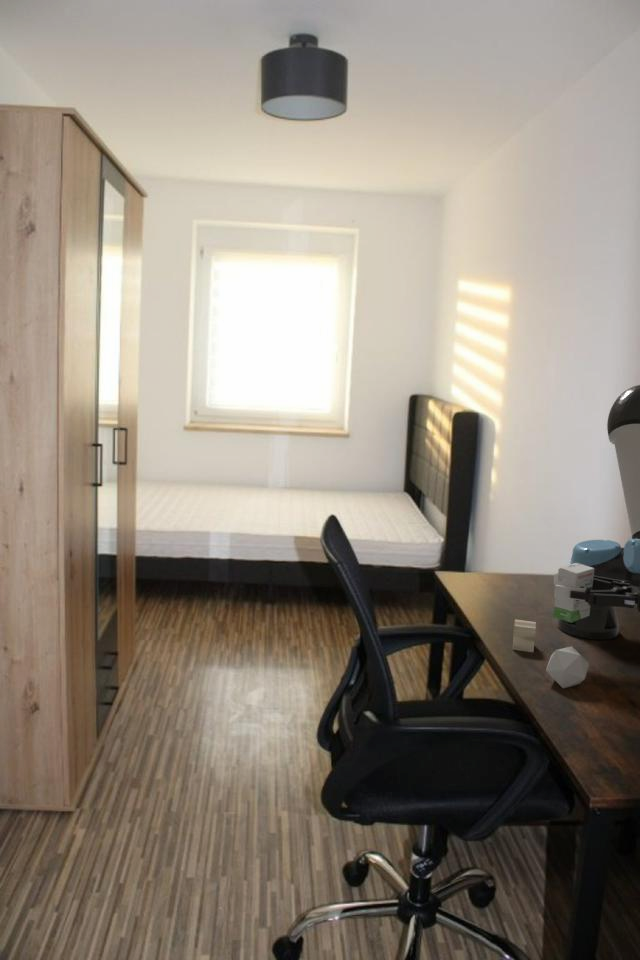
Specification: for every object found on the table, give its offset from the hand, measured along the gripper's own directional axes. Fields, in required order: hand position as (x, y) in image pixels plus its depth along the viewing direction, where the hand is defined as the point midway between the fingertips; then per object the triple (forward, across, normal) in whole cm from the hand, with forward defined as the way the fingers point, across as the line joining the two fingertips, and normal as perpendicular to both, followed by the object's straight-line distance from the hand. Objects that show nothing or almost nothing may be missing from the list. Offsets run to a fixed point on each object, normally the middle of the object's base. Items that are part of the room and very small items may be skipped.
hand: (554, 584), depth 192 cm
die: (-4, -15, -18) cm, 23 cm away
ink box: (-4, 0, -7) cm, 8 cm away
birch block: (+6, +5, -18) cm, 19 cm away
